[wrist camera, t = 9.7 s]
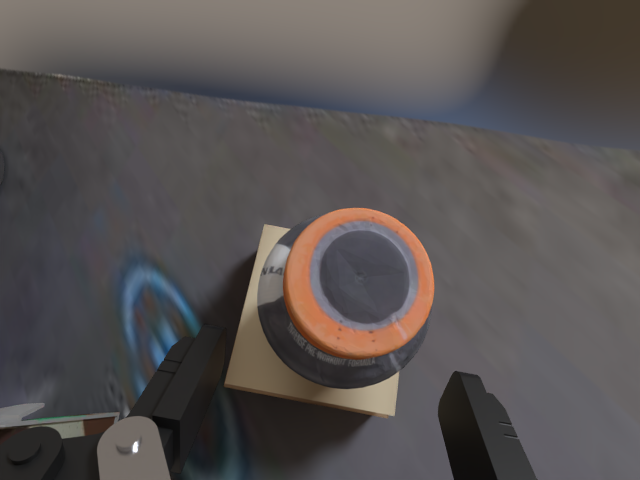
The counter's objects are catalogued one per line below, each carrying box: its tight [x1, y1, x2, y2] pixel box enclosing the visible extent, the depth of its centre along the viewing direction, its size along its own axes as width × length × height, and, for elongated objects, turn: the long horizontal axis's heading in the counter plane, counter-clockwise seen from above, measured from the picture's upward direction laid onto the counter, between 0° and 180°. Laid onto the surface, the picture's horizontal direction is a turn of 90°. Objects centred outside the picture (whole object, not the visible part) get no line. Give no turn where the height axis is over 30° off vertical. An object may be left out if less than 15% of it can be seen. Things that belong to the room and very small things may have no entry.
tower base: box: [224, 224, 399, 418], centre depth 23 cm, size 10×10×6 cm
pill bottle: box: [257, 208, 434, 389], centre depth 14 cm, size 6×6×11 cm
